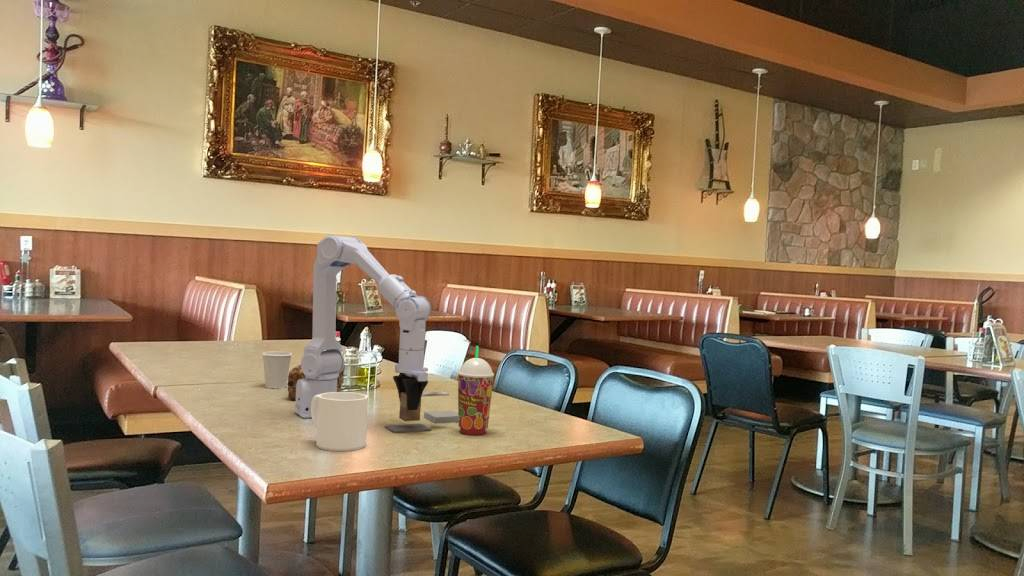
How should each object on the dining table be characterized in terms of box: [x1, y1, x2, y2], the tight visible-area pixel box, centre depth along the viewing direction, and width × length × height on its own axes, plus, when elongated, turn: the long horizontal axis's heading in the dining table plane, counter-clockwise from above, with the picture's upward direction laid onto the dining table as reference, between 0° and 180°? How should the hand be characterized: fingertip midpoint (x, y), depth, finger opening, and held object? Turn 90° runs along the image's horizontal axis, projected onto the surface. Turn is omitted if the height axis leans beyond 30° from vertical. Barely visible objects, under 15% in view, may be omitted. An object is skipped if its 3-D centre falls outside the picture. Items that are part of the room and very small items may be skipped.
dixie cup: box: [261, 350, 293, 389], centre depth 225 cm, size 8×8×10 cm
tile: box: [423, 410, 458, 424], centre depth 192 cm, size 2×7×8 cm
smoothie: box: [457, 345, 495, 436], centre depth 179 cm, size 8×8×20 cm
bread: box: [287, 364, 344, 402], centre depth 214 cm, size 19×11×10 cm, turn 176°
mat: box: [384, 423, 432, 434], centre depth 179 cm, size 9×6×1 cm, turn 120°
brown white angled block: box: [398, 391, 450, 422], centre depth 181 cm, size 11×4×6 cm, turn 120°
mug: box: [311, 391, 369, 452], centre depth 161 cm, size 13×10×10 cm
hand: (408, 408), depth 179 cm, fingers closed on brown white angled block, 4 cm apart
